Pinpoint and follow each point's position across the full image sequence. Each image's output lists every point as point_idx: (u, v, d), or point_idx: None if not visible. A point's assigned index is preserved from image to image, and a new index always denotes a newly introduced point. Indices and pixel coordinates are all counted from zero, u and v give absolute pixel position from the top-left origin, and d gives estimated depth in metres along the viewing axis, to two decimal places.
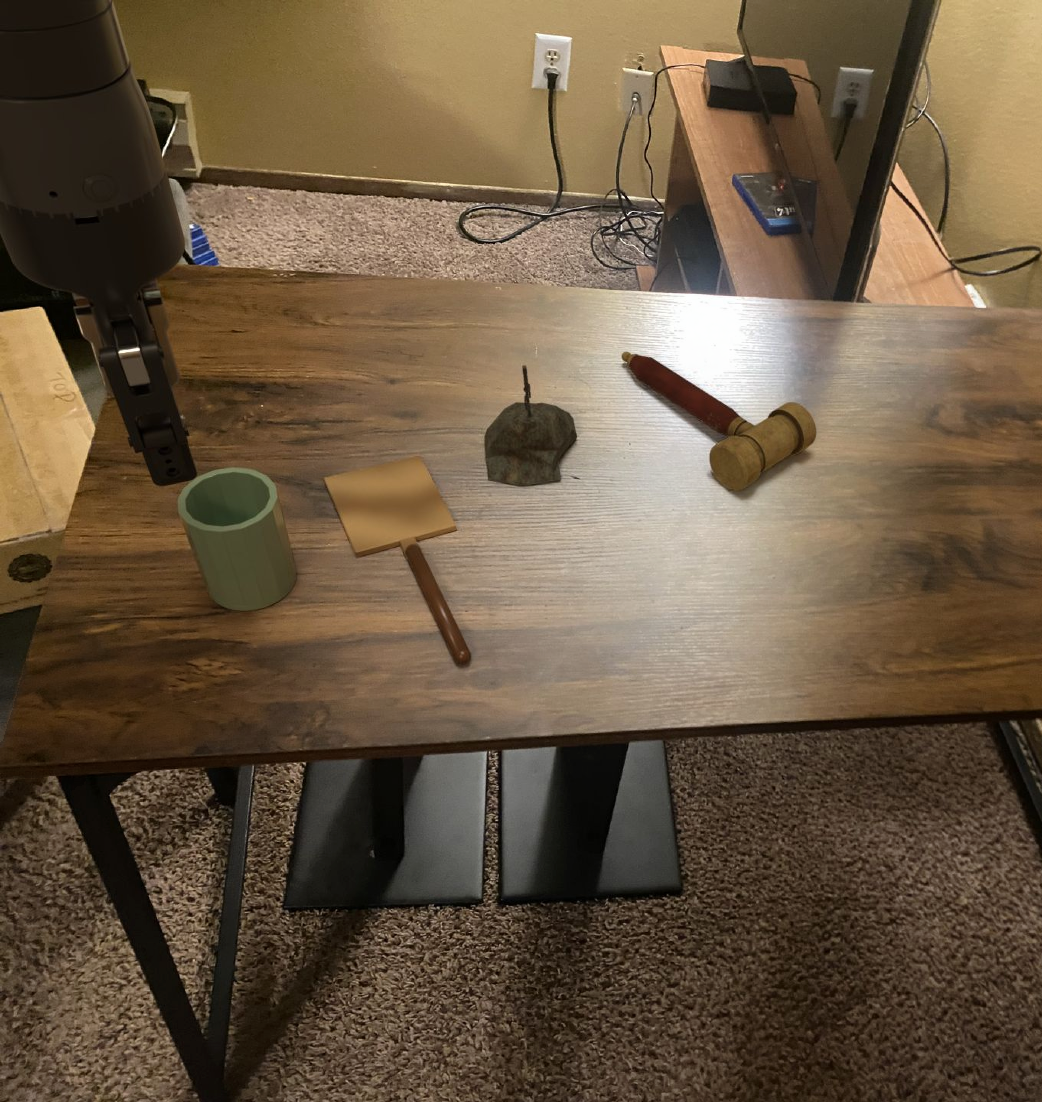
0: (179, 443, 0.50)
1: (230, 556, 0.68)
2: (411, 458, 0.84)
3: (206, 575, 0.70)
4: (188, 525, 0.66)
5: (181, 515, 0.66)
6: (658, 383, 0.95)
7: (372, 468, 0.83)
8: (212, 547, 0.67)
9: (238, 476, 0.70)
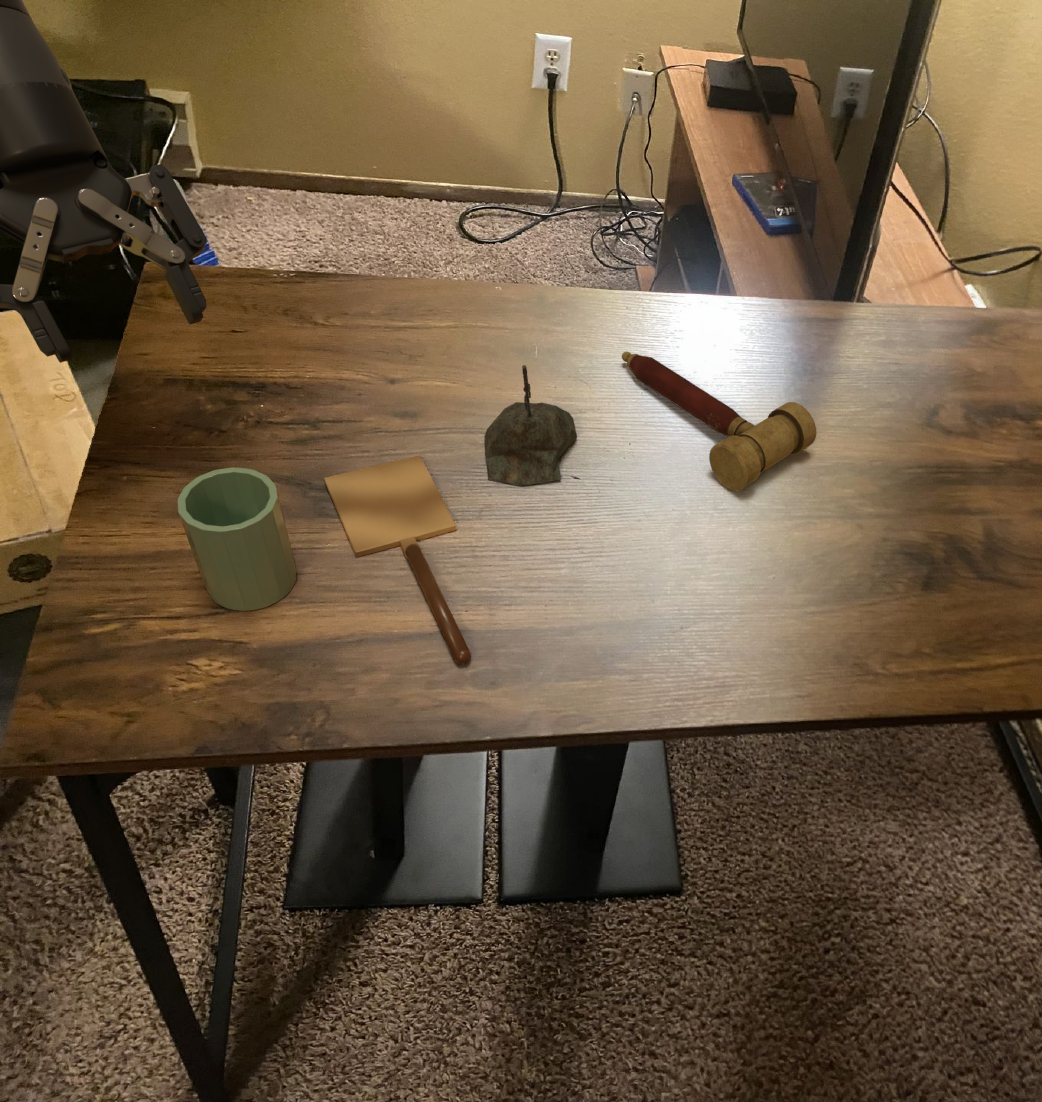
0: None
1: (230, 556, 0.68)
2: (411, 458, 0.84)
3: (206, 575, 0.70)
4: (188, 525, 0.66)
5: (181, 515, 0.66)
6: (658, 383, 0.95)
7: (372, 468, 0.83)
8: (212, 547, 0.67)
9: (238, 476, 0.70)
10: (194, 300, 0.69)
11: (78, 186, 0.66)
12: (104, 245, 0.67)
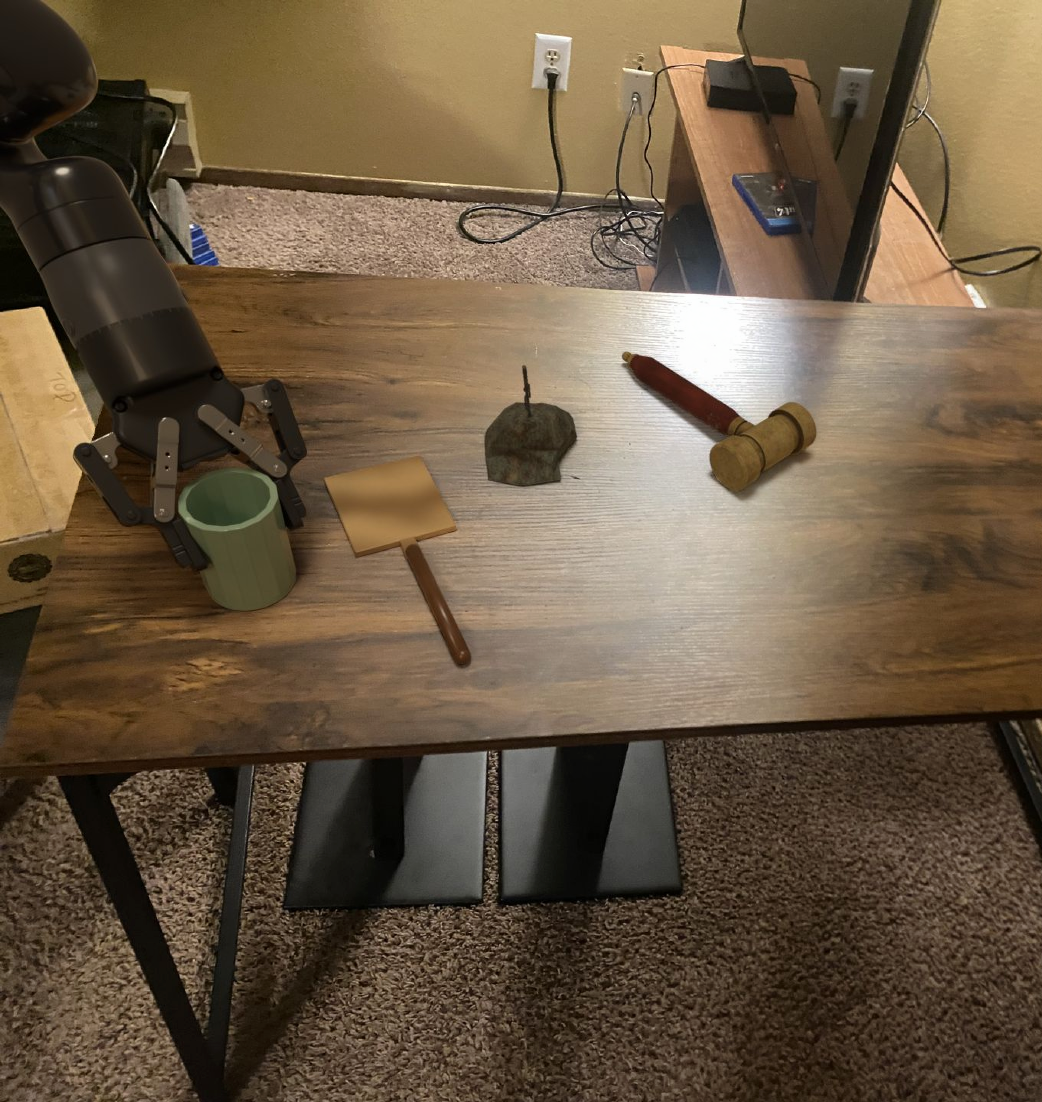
0: (123, 522, 0.65)
1: (230, 556, 0.68)
2: (411, 458, 0.84)
3: (206, 575, 0.70)
4: (188, 525, 0.66)
5: (181, 515, 0.66)
6: (659, 383, 0.95)
7: (372, 468, 0.83)
8: (212, 547, 0.67)
9: (238, 476, 0.70)
10: (296, 512, 0.71)
11: (196, 400, 0.67)
12: (220, 455, 0.68)
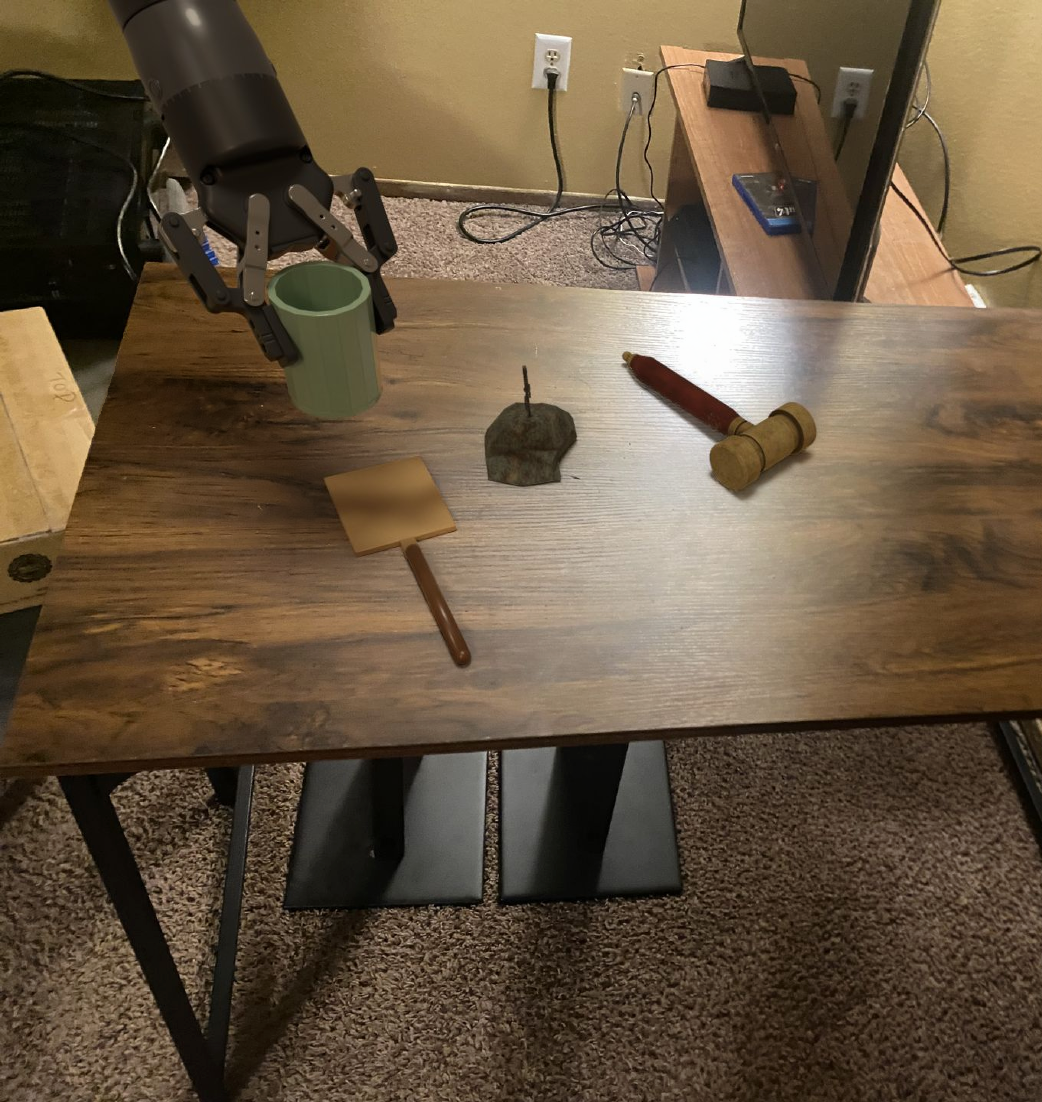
0: (212, 302, 0.61)
1: (322, 348, 0.64)
2: (411, 458, 0.84)
3: (293, 375, 0.66)
4: (279, 310, 0.62)
5: (272, 300, 0.62)
6: (659, 383, 0.95)
7: (372, 468, 0.83)
8: (304, 337, 0.63)
9: (326, 270, 0.66)
10: (387, 310, 0.67)
11: (286, 181, 0.63)
12: (310, 243, 0.64)
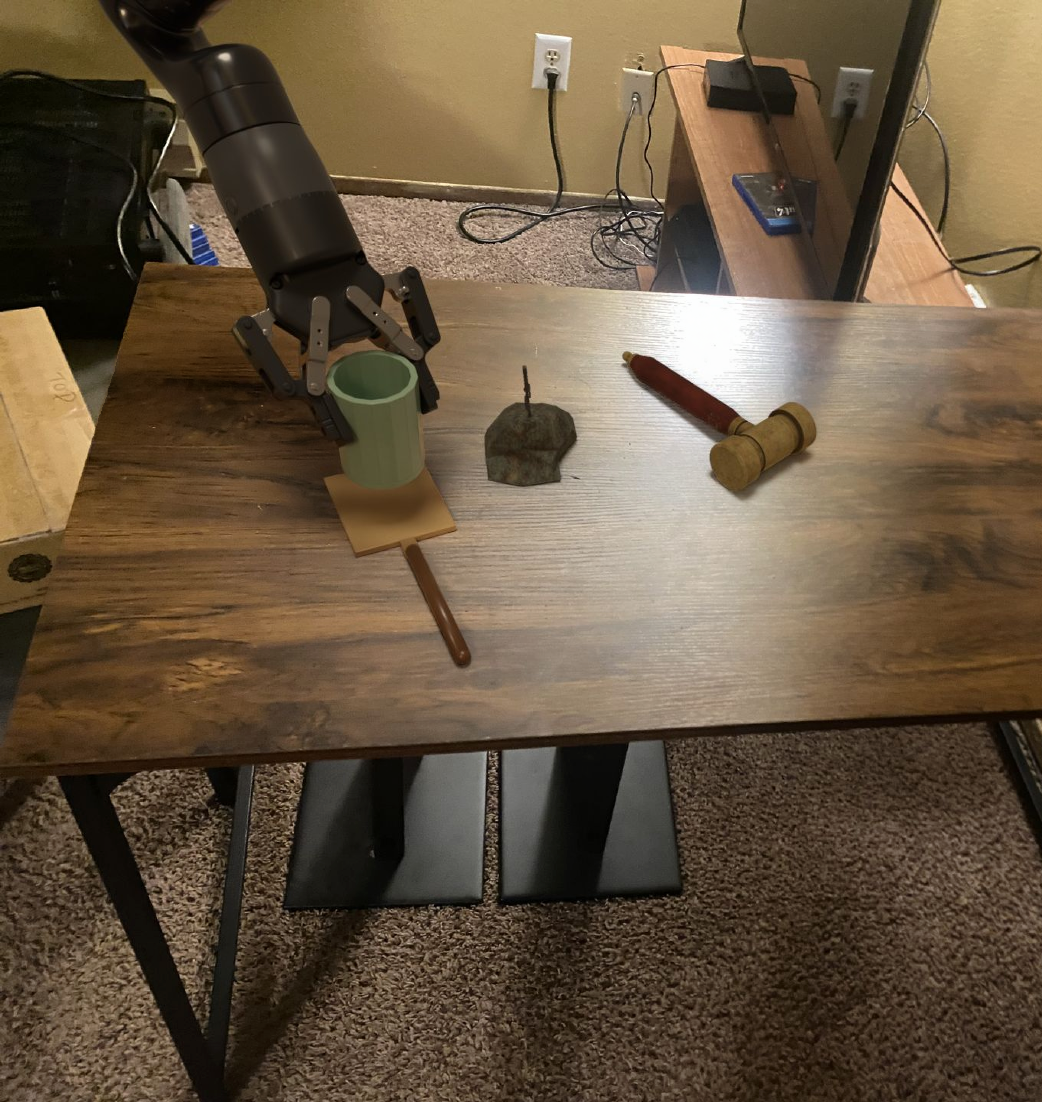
0: (280, 393, 0.68)
1: (375, 431, 0.71)
2: None
3: (347, 452, 0.74)
4: (338, 398, 0.70)
5: (331, 389, 0.70)
6: (659, 383, 0.95)
7: None
8: (359, 421, 0.71)
9: (378, 358, 0.74)
10: (431, 394, 0.74)
11: (343, 282, 0.71)
12: (364, 336, 0.72)
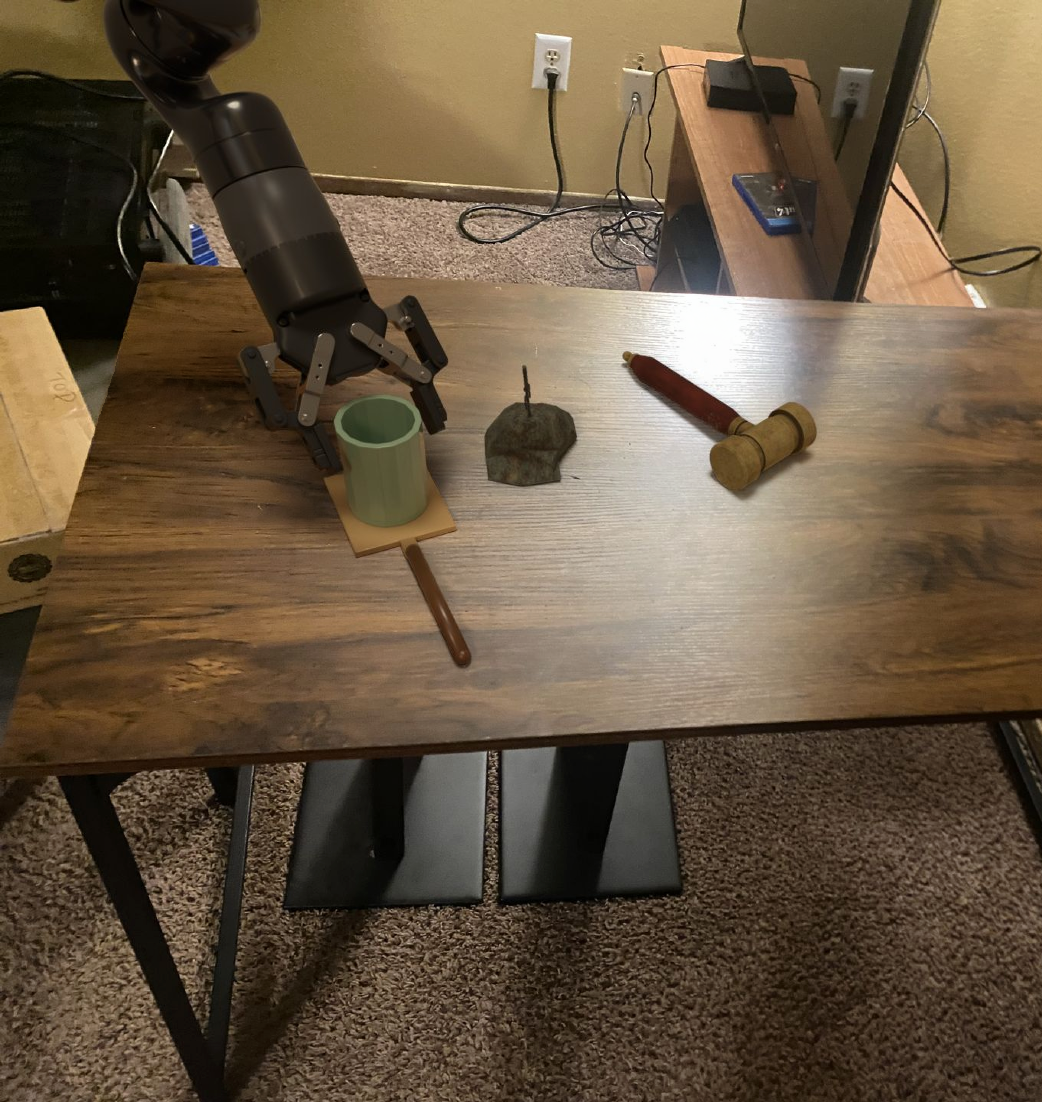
0: (271, 425, 0.70)
1: (380, 472, 0.74)
2: None
3: (354, 492, 0.77)
4: (346, 442, 0.73)
5: (339, 434, 0.73)
6: (659, 383, 0.95)
7: None
8: (365, 464, 0.74)
9: (383, 402, 0.77)
10: (438, 415, 0.77)
11: (348, 319, 0.74)
12: (367, 370, 0.74)
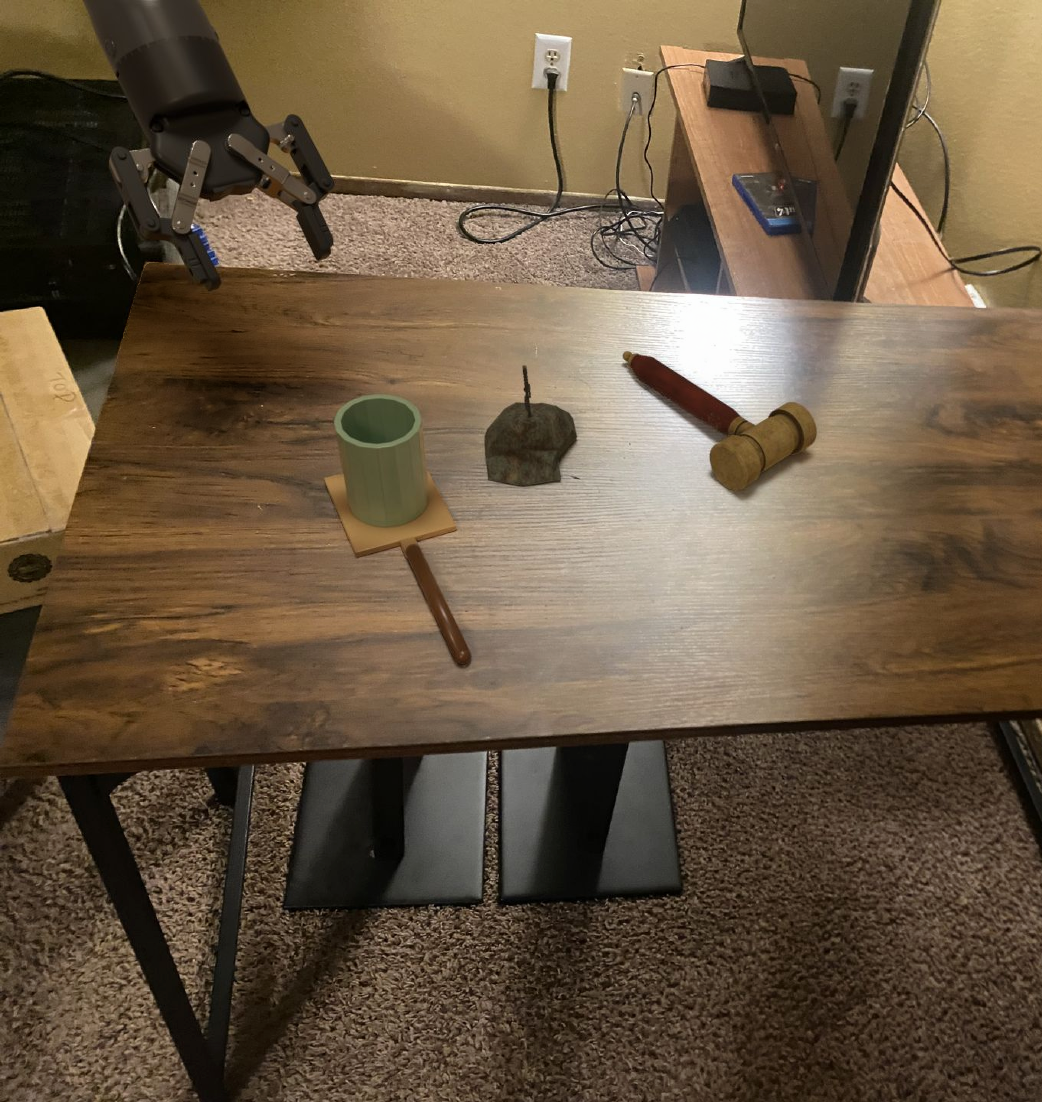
0: (143, 229, 0.70)
1: (380, 472, 0.74)
2: None
3: (354, 492, 0.77)
4: (346, 442, 0.73)
5: (339, 434, 0.73)
6: (659, 383, 0.95)
7: None
8: (365, 464, 0.74)
9: (383, 402, 0.77)
10: (324, 237, 0.77)
11: (226, 131, 0.73)
12: (248, 185, 0.74)
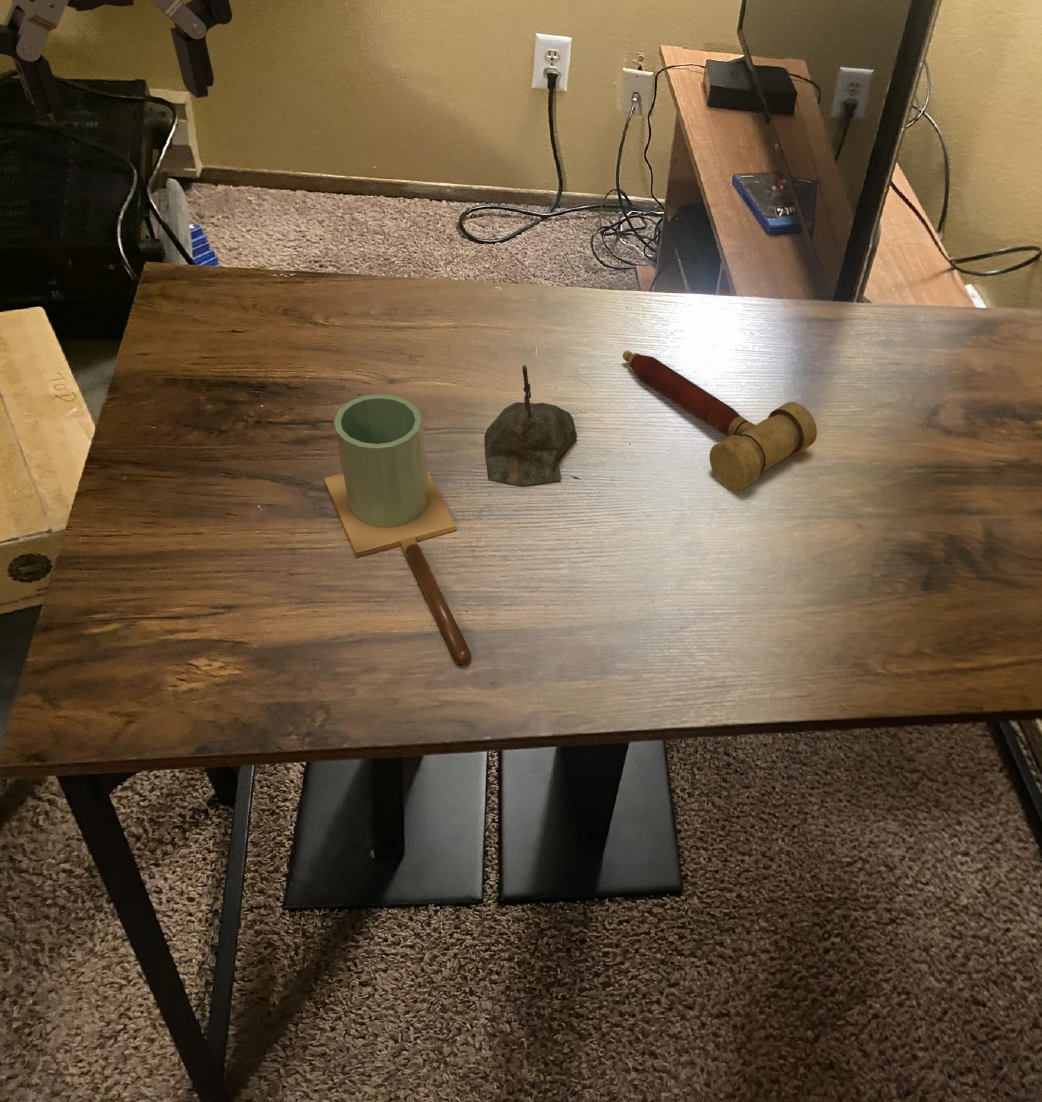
0: None
1: (380, 472, 0.74)
2: None
3: (354, 492, 0.77)
4: (346, 442, 0.73)
5: (339, 434, 0.73)
6: (659, 383, 0.95)
7: None
8: (365, 464, 0.74)
9: (383, 402, 0.77)
10: (203, 81, 0.64)
11: None
12: (122, 5, 0.59)
